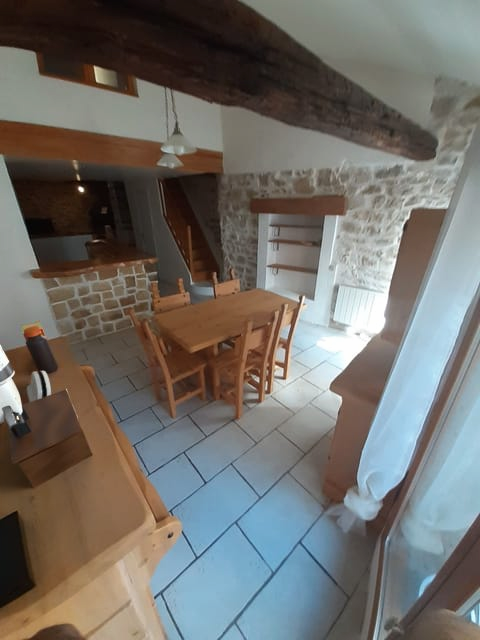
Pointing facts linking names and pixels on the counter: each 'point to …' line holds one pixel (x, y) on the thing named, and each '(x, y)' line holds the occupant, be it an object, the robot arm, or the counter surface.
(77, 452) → the chest
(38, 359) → the bottle
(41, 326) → the baking soda box
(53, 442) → the lid
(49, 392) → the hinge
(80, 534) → the counter surface
